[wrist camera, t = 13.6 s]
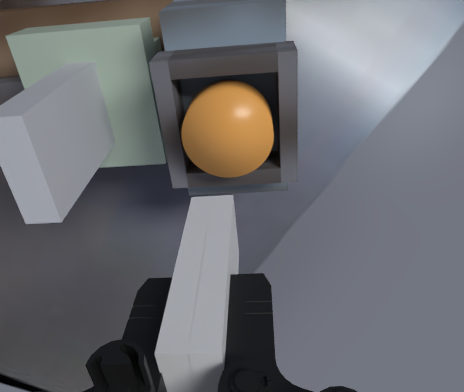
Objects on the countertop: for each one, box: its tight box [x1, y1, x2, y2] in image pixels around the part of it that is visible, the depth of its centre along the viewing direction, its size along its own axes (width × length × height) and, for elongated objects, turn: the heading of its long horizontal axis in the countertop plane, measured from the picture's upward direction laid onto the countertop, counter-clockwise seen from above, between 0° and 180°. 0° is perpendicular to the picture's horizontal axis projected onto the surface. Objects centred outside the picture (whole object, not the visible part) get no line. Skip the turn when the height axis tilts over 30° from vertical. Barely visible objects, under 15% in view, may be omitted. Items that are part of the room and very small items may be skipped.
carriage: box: [0, 17, 167, 224], centre depth 27 cm, size 10×9×15 cm
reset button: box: [181, 80, 274, 178], centre depth 23 cm, size 5×5×2 cm
